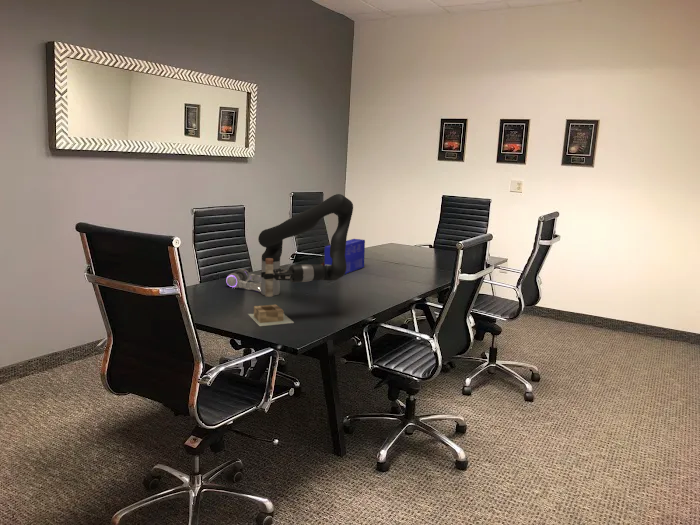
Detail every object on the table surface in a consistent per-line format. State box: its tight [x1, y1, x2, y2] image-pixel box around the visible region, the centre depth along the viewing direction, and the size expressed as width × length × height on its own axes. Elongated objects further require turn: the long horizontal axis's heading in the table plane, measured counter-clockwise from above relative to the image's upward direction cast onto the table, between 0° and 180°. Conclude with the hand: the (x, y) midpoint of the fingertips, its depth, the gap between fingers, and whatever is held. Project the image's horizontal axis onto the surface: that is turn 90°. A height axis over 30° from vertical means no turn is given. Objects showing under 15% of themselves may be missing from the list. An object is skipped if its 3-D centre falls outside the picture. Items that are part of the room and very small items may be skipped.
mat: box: [247, 313, 295, 327], centre depth 234 cm, size 18×15×1 cm
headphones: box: [225, 268, 261, 293], centre depth 290 cm, size 22×8×22 cm
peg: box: [264, 258, 274, 298], centre depth 230 cm, size 3×3×16 cm
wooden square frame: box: [253, 304, 285, 323], centre depth 233 cm, size 10×10×4 cm
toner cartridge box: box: [323, 238, 366, 275], centre depth 336 cm, size 39×8×18 cm, turn 153°
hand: (262, 275), depth 229 cm, fingers closed on peg, 3 cm apart
